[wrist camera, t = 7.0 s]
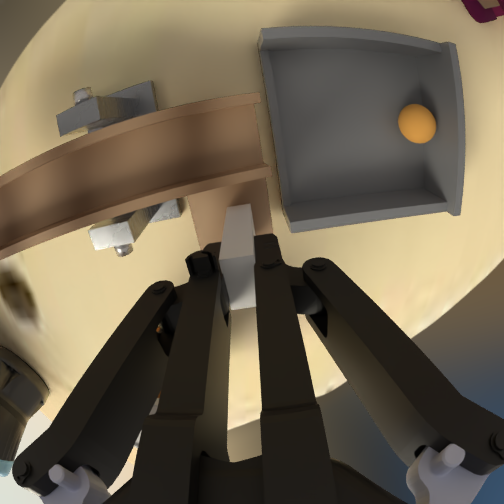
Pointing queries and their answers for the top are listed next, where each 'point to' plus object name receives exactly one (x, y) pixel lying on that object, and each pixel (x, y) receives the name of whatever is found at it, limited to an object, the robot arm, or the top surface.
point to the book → (484, 9)
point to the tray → (361, 124)
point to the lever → (142, 174)
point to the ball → (417, 123)
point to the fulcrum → (103, 115)
